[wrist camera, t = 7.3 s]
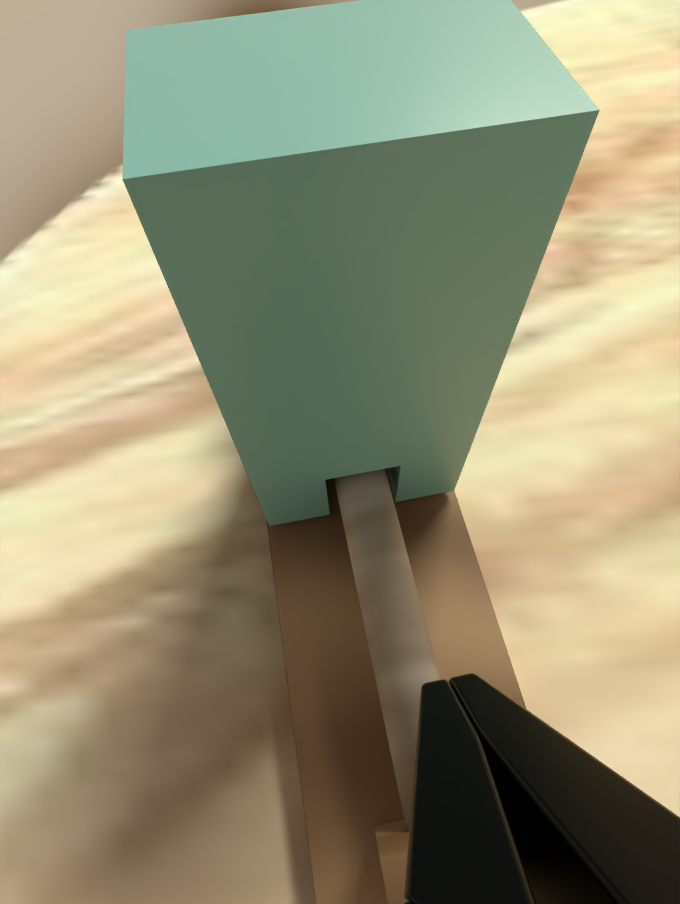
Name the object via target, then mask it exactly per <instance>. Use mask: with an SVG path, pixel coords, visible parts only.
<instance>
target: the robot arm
mask: <svg viewBox="0 0 680 904" xmlns="http://www.w3.org/2000/svg"><path fill="white" fill-rule="evenodd" d="M404 902H405V903H404V904H680V817H679V816H677V815H676V814H674V813H673V812H671V811H670V810H669V809H667V808H666V807H664V806H663V805H662V804H660V803H659V802H657V801H656V800H654V799H653V798H652V797H650V796H649V795H647V794H646V793H644V792H643V791H642V790H640V789H639V788H637V787H636V786H635V785H633V784H632V783H630V782H629V781H627V780H626V779H625V778H623V777H622V776H620V775H619V774H617V773H616V772H615V771H613V770H612V769H610V768H609V767H608V766H606V765H605V764H603V763H602V762H600V761H599V760H598V759H596V758H595V757H593V756H592V755H590V754H589V753H588V752H586V751H585V750H583V749H582V748H581V747H579V746H578V745H576V744H575V743H573V742H572V741H571V740H569V739H568V738H566V737H565V736H563V735H562V734H561V733H559V732H558V731H556V730H555V729H554V728H552V727H551V726H549V725H548V724H546V723H545V722H544V721H542V720H541V719H539V718H538V717H536V716H535V715H534V714H532V713H531V712H529V711H528V710H527V709H525V708H524V707H522V706H521V705H519V704H518V703H517V702H515V701H514V700H512V699H511V698H509V697H508V696H507V695H505V694H504V693H502V692H501V691H500V690H498V689H497V688H495V687H494V686H492V685H491V684H490V683H488V682H487V681H485V680H484V679H482V678H481V677H480V676H478V675H477V674H474V673H469V674H465V675H460V676H455V677H452V678H451V679H450V680H449V682H448V681H447V680H445V679H442V680H437V681H432V682H428V683H424V684H423V685H422V687H421V697H420V709H419V721H418V733H417V745H416V757H415V769H414V781H413V793H412V805H411V817H410V829H409V841H408V853H407V865H406V877H405V889H404Z"/></svg>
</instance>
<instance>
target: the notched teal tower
mask: <svg viewBox="0 0 680 904" xmlns="http://www.w3.org/2000/svg"><path fill="white" fill-rule="evenodd" d="M124 109H125V110H124V146H123V148H124V150H123V181H124V184H125V186H126V188H127V191H128V193H129V195H130V198H131V200H132V202H133V205H134V207H135V210H136V212H137V214H138V217H139V219H140V221H141V224H142V226H143V228H144V231H145V233H146V236H147V238H148V240H149V243H150V245H151V247H152V250H153V252H154V254H155V257H156V259H157V262H158V264H159V266H160V269H161V271H162V273H163V276H164V278H165V281H166V283H167V285H168V288H169V290H170V292H171V295H172V297H173V299H174V302H175V304H176V307H177V309H178V311H179V314H180V316H181V318H182V321H183V323H184V325H185V328H186V330H187V333H188V335H189V337H190V340H191V342H192V344H193V347H194V349H195V351H196V354H197V356H198V359H199V361H200V363H201V366H202V368H203V370H204V373H205V375H206V377H207V380H208V382H209V385H210V387H211V389H212V392H213V394H214V396H215V399H216V401H217V403H218V406H219V408H220V411H221V413H222V415H223V418H224V420H225V422H226V425H227V427H228V429H229V432H230V434H231V437H232V439H233V441H234V444H235V446H236V448H237V451H238V453H239V455H240V458H241V460H242V463H243V465H244V467H245V470H246V472H247V474H248V477H249V479H250V481H251V484H252V486H253V489H254V491H255V493H256V496H257V498H258V500H259V503H260V505H261V507H262V510H263V512H264V515H265V517H266V519H267V522H268V524H269V526H272V525H278V524H283V523H288V522H293V521H299V520H304V519H309V518H314V517H320V516H325V515H330V512H329V504H328V497H327V489H326V482H325V480H327V479H332V478H337V477H343V476H348V475H353V474H359V473H364V472H370V471H375V470H380V469H387V473H388V476H389V480H390V484H391V488H392V492H393V495H394V499H395V502H398V501H403V500H409V499H414V498H419V497H424V496H430V495H435V494H440V493H445V492H451V491H454V489H455V487H456V484H457V481H458V479H459V476H460V474H461V471H462V468H463V466H464V463H465V461H466V458H467V455H468V453H469V450H470V447H471V445H472V442H473V440H474V437H475V434H476V432H477V429H478V426H479V424H480V421H481V419H482V416H483V413H484V411H485V408H486V406H487V403H488V400H489V398H490V395H491V392H492V390H493V387H494V385H495V382H496V379H497V377H498V374H499V372H500V369H501V366H502V364H503V361H504V358H505V356H506V353H507V351H508V348H509V345H510V343H511V340H512V338H513V335H514V332H515V330H516V327H517V324H518V322H519V319H520V317H521V314H522V311H523V309H524V306H525V303H526V301H527V298H528V296H529V293H530V290H531V288H532V285H533V283H534V280H535V277H536V275H537V272H538V269H539V267H540V264H541V262H542V259H543V256H544V254H545V251H546V249H547V246H548V243H549V241H550V238H551V235H552V233H553V230H554V228H555V225H556V222H557V220H558V217H559V215H560V212H561V209H562V207H563V204H564V201H565V199H566V196H567V194H568V191H569V188H570V186H571V183H572V180H573V178H574V175H575V173H576V170H577V167H578V165H579V162H580V160H581V157H582V154H583V152H584V149H585V146H586V144H587V141H588V139H589V136H590V133H591V131H592V128H593V126H594V123H595V120H596V118H597V115H598V112H599V109H598V108H597V106H596V105H595V104H594V103H593V101H592V100H591V99H590V98H589V96H588V95H587V94H586V93H585V91H584V90H583V89H582V88H581V86H580V85H579V84H578V83H577V81H576V80H575V79H574V78H573V77H572V75H571V74H570V73H569V72H568V70H567V69H566V68H565V67H564V65H563V64H562V63H561V62H560V60H559V59H558V58H557V57H556V55H555V54H554V53H553V52H552V50H551V49H550V48H549V47H548V45H547V44H546V43H545V42H544V40H543V39H542V38H541V37H540V35H539V34H538V33H537V32H536V31H535V29H534V28H533V27H532V26H531V24H530V23H529V22H528V21H527V19H526V18H525V17H524V16H523V14H522V13H521V12H520V11H519V9H518V8H517V7H516V6H515V4H514V3H513V2H512V1H511V0H359V1H351V2H344V3H335V4H328V5H320V6H312V7H304V8H296V9H289V10H280V11H272V12H266V13H257V14H249V15H241V16H233V17H225V18H218V19H210V20H202V21H194V22H186V23H179V24H171V25H162V26H154V27H147V28H139V29H131V30H127V33H126V71H125V108H124Z"/></svg>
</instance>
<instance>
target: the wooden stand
mask: <svg viewBox="0 0 680 904" xmlns="http://www.w3.org/2000/svg"><path fill="white" fill-rule="evenodd" d="M325 482H326V489H327V497H328V504H329V512H330V515H325V516H320V517H314V518H309V519H304V520H299V521H293V522H288V523H283V524H278V525H272V526H269V524H268V522H267V528H268V536H269V543H270V551H271V559H272V567H273V574H274V582H275V590H276V597H277V605H278V613H279V621H280V628H281V636H282V644H283V652H284V659H285V667H286V675H287V682H288V690H289V698H290V706H291V713H292V721H293V729H294V737H295V744H296V752H297V760H298V767H299V775H300V783H301V791H302V798H303V806H304V814H305V822H306V829H307V837H308V845H309V852H310V860H311V868H312V876H313V883H314V891H315V899H316V904H404V903H405V902H404V889H405V877H406V865H407V853H408V841H409V829H410V817H411V805H412V793H413V781H414V769H415V757H416V745H417V733H418V721H419V709H420V697H421V687H422V685H423V684H424V683H428V682H432V681H437V680H442V679H445V680H447V681H448V682H449V680H450V679H451V678H452V677H455V676H460V675H465V674H469V673H474V674H477V675H478V676H480V677H481V678H482V679H484V680H485V681H487V682H488V683H490V684H491V685H492V686H494V687H495V688H497V689H498V690H500V691H501V692H502V693H504V694H505V695H507V696H508V697H509V698H511V699H512V700H514V701H515V702H517V703H518V704H519V705H521V706H522V707H524V708H525V709H526V706H525V703H524V700H523V697H522V694H521V691H520V688H519V685H518V682H517V679H516V676H515V673H514V670H513V667H512V664H511V661H510V658H509V655H508V652H507V649H506V646H505V643H504V640H503V637H502V634H501V631H500V628H499V625H498V622H497V619H496V616H495V613H494V610H493V607H492V604H491V601H490V597H489V594H488V591H487V588H486V585H485V582H484V579H483V576H482V573H481V570H480V567H479V564H478V561H477V558H476V555H475V552H474V549H473V546H472V543H471V540H470V537H469V534H468V531H467V528H466V525H465V522H464V519H463V516H462V513H461V510H460V507H459V504H458V501H457V498H456V495H455V492H454V491H451V492H445V493H440V494H435V495H430V496H424V497H419V498H414V499H409V500H403V501H398V502H395V499H394V495H393V492H392V488H391V484H390V480H389V476H388V473H387V469H380V470H375V471H370V472H364V473H359V474H353V475H348V476H343V477H337V478H332V479H327V480H325ZM266 520H267V519H266Z"/></svg>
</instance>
